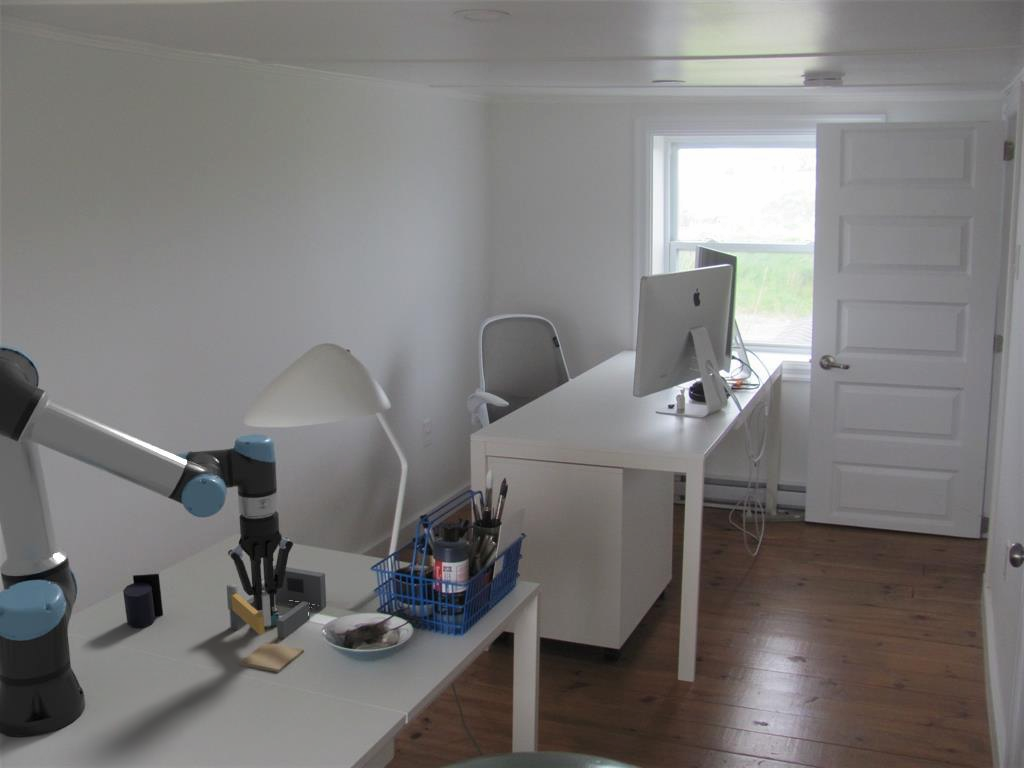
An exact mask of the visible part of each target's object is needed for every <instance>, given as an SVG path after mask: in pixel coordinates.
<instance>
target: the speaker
mask: <svg viewBox="0 0 1024 768" xmlns="http://www.w3.org/2000/svg"><path fill="white" fill-rule="evenodd" d="M132 579H133V583H130V584H128V585H127V586H125V588H124V589H123V590H122V594H123V600H124V608H125V616H126V623H127V625H128V626H129V627H130V628H133V629H134V628H135V629H142V628H143V629H144V628H146V627H149V626H151V625H153V623H154V622H155V621H156V617H157V616H163V615H164V610H163V600H162V591H161V581H160V573H150V574H149V573H148V574H136V575H132Z"/></svg>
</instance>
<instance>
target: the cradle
mask: <svg viewBox="0 0 1024 768" xmlns="http://www.w3.org/2000/svg"><path fill="white" fill-rule="evenodd" d="M275 568H276V564H275V565H273V573H275ZM326 587H327V586H326V573H325V572H319V571H312V570H306V569H300V568H295V567H287V566H286V571H285V576H284V582H283V586H282V588H280V589H279V588H278V591H277V593H276V594H275V603H277V604H283V605H284V604H285V605H290V606H294V605H295V606H294V607H293V608H292V609H290V610H289V611H288V612H286V613H284V614H283V616H282V615H281V616H282V617H281V618H279V619H278V620H277V625H276V629H277V631H276V634H277V639H281V640H284V639H286V638H288V636H290V635H291V634H293V633H294V632H295V631H297V630H298V629H299V628H300V627H302V626H303V625H304V624H306V623H307V622H308V621H310V615H309V616H308V612H309V613H310V609H311V607H312V608H314V609H313V610H317V611H323V610H324V609H325V608H327V591H326V589H327V588H326ZM289 600H293V601H289ZM245 601H246V602H248V603H249V604H250V605H251V606H252V607H253V608H255V607H254V596H252V597H251V598H249V599H248V600H245ZM295 601H299V602H295ZM309 603H310V604H309ZM312 604H315V605H312ZM296 605H297V606H296ZM318 605H319V606H318ZM309 607H310V608H309ZM229 621H230V622H229V623H230V628H231V630H234V631H239V630H240V629H242V628H243V627H245V626H246V625H248V624H247V623H246V622H245V621H244V620H243V619H242V618H241V617H240V616H238V615H237V614H236V613H235V612H234V611H233V610H229Z"/></svg>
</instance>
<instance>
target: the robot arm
mask: <svg viewBox="0 0 1024 768" xmlns="http://www.w3.org/2000/svg"><path fill="white" fill-rule="evenodd" d="M39 380H40V374H39V371H38V367H37V366H36V364H35V362H34V360H33V359H32V358H31V357H30V356H29V355H28V354H26V353H25V352H24V351H22V350H20V349H18V348H15V347H13V346H5V345H4V346H3V345H2V346H0V527H1V528H0V529H1V534H2V539H3V544H4V548H5V554H6V558H5V560H4V562H3V563H2V564H1V566H0V575H1V581H2V586H3V590H1V591H0V734H2V735H4V736H11V737H32V736H37V735H38V736H39V735H42V734H47V733H50V732H53V731H56V730H59V729H61V728H64V727H65V726H68V725H69V724H72V723H73V722H74V721H75V720H77V719H78V718H79V717H80V716H81V715H82V714H83V713H84V712H85V708H86V700H85V693H84V689H83V688H82V686H81V684H80V682H79V680H78V678H77V677H76V673H75V672H74V670H73V668H72V666H71V665H72V664H71V655H70V644H69V642H70V641H69V630H68V629H69V624H70V619H71V615H72V611H73V608H74V605H75V602H76V600H77V595H78V583H77V579H76V577H75V573H74V572H73V570H72V568H71V566H70V561H69V557H68V554H67V552H66V551H64V550H63V549H62V548H59V547H58V546H57V539H56V535H55V530H54V525H53V518H52V513H51V507H50V503H49V497H48V492H47V486H46V481H45V476H44V471H43V470H44V469H43V466H42V461H41V454H40V453H41V452H40V449H39V445H41V446H44V447H46V448H48V449H50V450H53V451H55V452H58V453H60V454H63V455H65V456H66V457H70V458H71V459H75V460H77V461H79V462H81V463H83V464H85V465H89V466H91V467H93V468H95V469H99V471H100V470H101V471H103V472H106V473H108V474H111V475H113V476H115V477H117V478H120V479H122V480H125V481H127V482H129V483H132V484H134V485H136V486H139V487H142V488H144V489H146V490H148V491H151V492H153V493H156V494H158V495H160V496H162V497H164V498H166V499H167V498H168V499H170V500H172V501H174V502H177V503H178V504H182V505H183V507H184V509H185V510H186V511H187V512H188V513H189V514H190V515H192V516H195V517H197V518H208V517H211V516H214V515H216V514H218V513H219V512H220V511H221V510H222V508H223V507H224V505H225V503H226V498H227V497H226V496H227V490H228V489H229V488H235V487H237V498H238V501H237V502H238V512H239V514H240V515H239V533H240V539H239V541H238V545H237V546H236V547H235V548H234V549H230V550H228V551H227V554H228V556H229V557H230V558H231V559H232V561H233V562H234V567H236V571H237V575H238V577H239V580H240V581H239V582H240V583H241V586H242V589H243V591H244V592H245V594H247V595H248V596H253V597H254V607H255V609H256V610H257V611H259V613H260V614H262V615H263V616H264V626H268V625H271V614H270V608H271V607H274V594H275V593H276V591H275V590H276V589H278V588H279V589H280V588H282V586H283V582H284V576H285V571H286V567H287V563H288V558H289V555H290V552H291V550H292V548H293V546H294V543H293V541H291V540H290V539H289V538H287V537H286V538H284V537H283V535H282V534H281V532H280V523H279V522H280V520H279V512H278V510H279V506H278V505H279V504H278V503H279V502H278V489H277V487H278V486H277V485H278V484H277V465H276V464H277V463H276V461H277V460H276V454H275V444H274V442H275V441H274V440H273V439H272V438H271V437H270V436H268V435H266V434H256V433H255V434H254V433H253V434H248V435H242V436H239V437H237V438H236V439H235V441H234V445H233V447H231V448H227V449H215V450H201V451H191V450H190V451H187V452H182V453H173V452H170V451H168V450H165V449H163V448H162V447H160V446H156V445H155V444H152V443H150V442H147V441H145V440H143V439H140V438H138V437H136V436H134V435H132V434H129V433H127V432H125V431H123V430H121V429H119V428H115V427H114V426H111V425H109V424H107V423H104V422H102V421H100V420H98V419H95V418H93V417H90V416H88V415H86V414H84V413H82V412H79V411H78V410H77V411H76V409H73V408H70V407H68V406H66V405H63V404H61V403H59V402H57V401H54V400H52V399H51V398H50V397H49V394H48V391H46V390H44V389H41V388H39V387H38V386H39V385H40V384H39V382H40V381H39ZM278 547H279V548H278ZM277 549H278V551H277V559H276V563H275V565H276V568H275V573H273V566H274V561H275V559H274V553H275V552H276V550H277ZM243 552H245V554H246V555H247V556H248V557H249V562H250V573H251V580H250V577H249V574H248V571H247V569H246V566H245V563H244V560H243V559H242V558H243V557H244V555H243ZM261 564H262V565H261ZM261 567H263V568H261ZM262 569H263V579H264V586H265V589H266V591H265V590H263V591H262V580H261V579H262Z"/></svg>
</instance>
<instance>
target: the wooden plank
mask: <svg viewBox="0 0 1024 768" xmlns="http://www.w3.org/2000/svg"><path fill="white" fill-rule="evenodd" d="M238 589H239V588H238V584H236V583H229V584H227V585H226V596H227V597H226V599H227V601H226V602H227V609H228V611H230V610H233V611H234V612H235V613H236V614H237V615H238V616H240V617H241V618H242V619H243V620H244V621H245V622H246V623H247V624H246V625H248V626H249V627H251V629H253V631H255V632H256V633H257V634H258V635H261V634H264V633H265V627H264V616H263V615H262V614H260V613H259V612H258V611H257V610H256V609H255V608H253V607H252V606H251V605H250V604H249V603H248V602H246V601H247V600H245V599H244V598H243V597H242V596H241V595H240V594H239V592H238Z"/></svg>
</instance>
